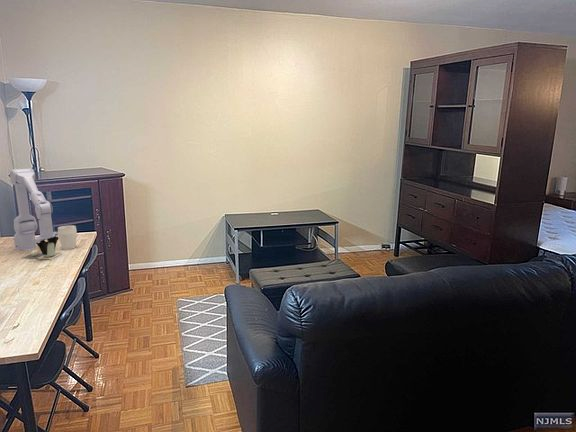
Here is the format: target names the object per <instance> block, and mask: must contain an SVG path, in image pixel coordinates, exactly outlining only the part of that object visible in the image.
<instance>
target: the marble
mask: <svg viewBox="0 0 576 432" xmlns="http://www.w3.org/2000/svg"><path fill="white" fill-rule="evenodd" d="M38 253H39V252H38V250H37V249H36V250H35V249H32V250H31V252H30V254H31V255H32V256H36V255H37V254H38Z"/></svg>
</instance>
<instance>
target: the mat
mask: <svg viewBox="0 0 576 432" xmlns="http://www.w3.org/2000/svg"><path fill="white" fill-rule="evenodd" d="M61 256H63V254H62V253H61V254H60V253H55V255H53V256H48V257H46V256H43V254H42V252H38V254H37V255H36V256H32V255H31V253H30V254H27V255H25V256H23V257H22V259H29V260H45V261H52V260H53V259H55V258H59V257H61Z"/></svg>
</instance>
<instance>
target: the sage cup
mask: <svg viewBox="0 0 576 432" xmlns="http://www.w3.org/2000/svg"><path fill="white" fill-rule="evenodd" d="M47 242H48V241H47ZM55 254H56V247H54V243H53V242H48V246H47V255H43V256H46V257H48V256H53V255H55Z"/></svg>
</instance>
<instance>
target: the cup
mask: <svg viewBox="0 0 576 432" xmlns="http://www.w3.org/2000/svg"><path fill="white" fill-rule="evenodd" d="M57 232H58V236H57V237H58V238H59V239H58V240H59V242H60V245H61V249H62V250H72V249H76V246H77V233H78V231H77V226H76V225H74V224H73V225H72V224H69V225H61V226H59V227H57Z"/></svg>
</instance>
